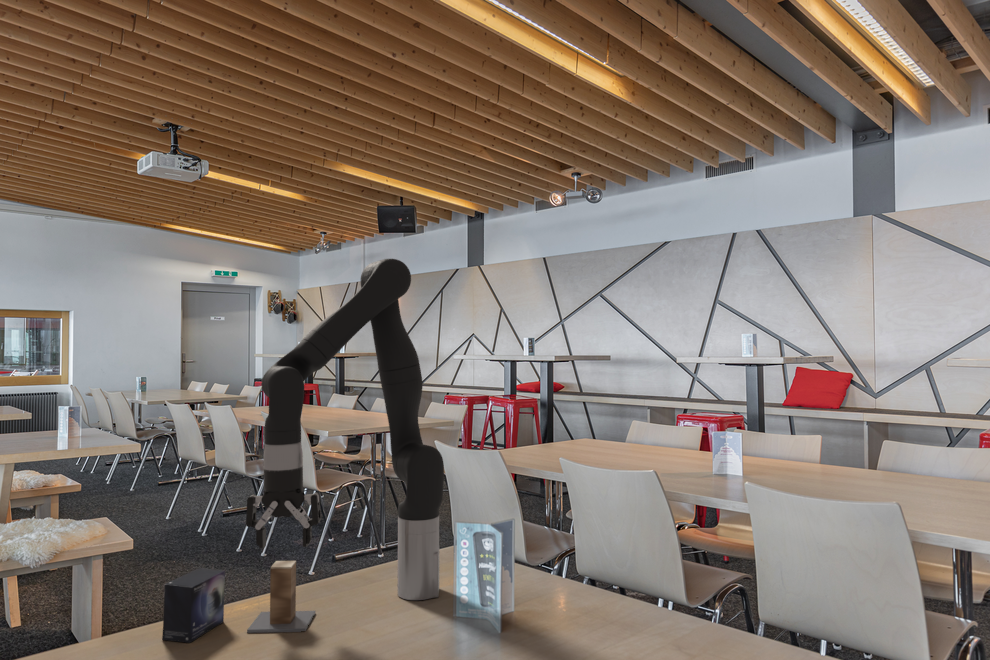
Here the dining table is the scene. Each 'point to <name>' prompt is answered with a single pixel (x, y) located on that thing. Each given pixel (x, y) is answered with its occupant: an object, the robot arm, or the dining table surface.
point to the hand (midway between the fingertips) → (284, 546)
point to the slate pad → (297, 624)
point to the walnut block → (283, 592)
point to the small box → (193, 604)
